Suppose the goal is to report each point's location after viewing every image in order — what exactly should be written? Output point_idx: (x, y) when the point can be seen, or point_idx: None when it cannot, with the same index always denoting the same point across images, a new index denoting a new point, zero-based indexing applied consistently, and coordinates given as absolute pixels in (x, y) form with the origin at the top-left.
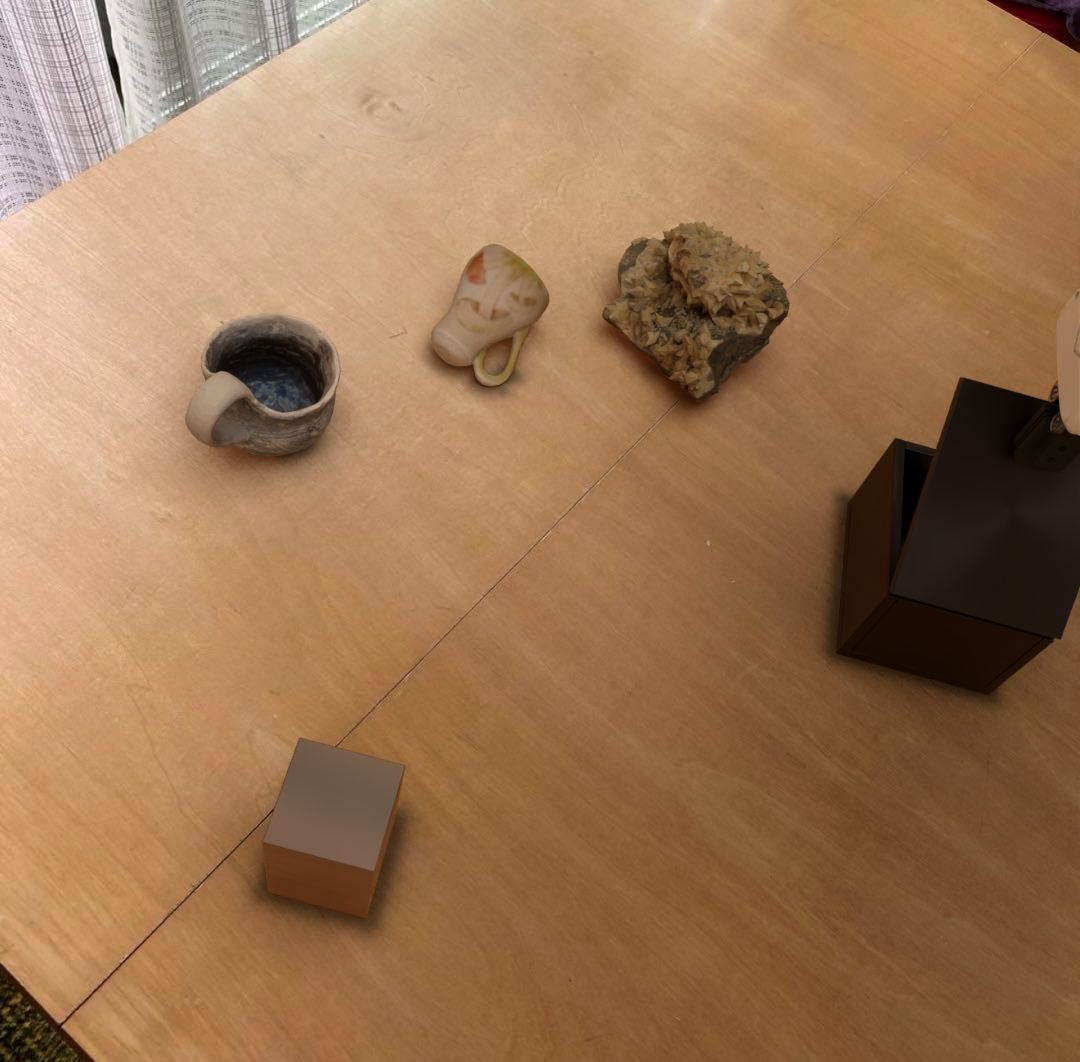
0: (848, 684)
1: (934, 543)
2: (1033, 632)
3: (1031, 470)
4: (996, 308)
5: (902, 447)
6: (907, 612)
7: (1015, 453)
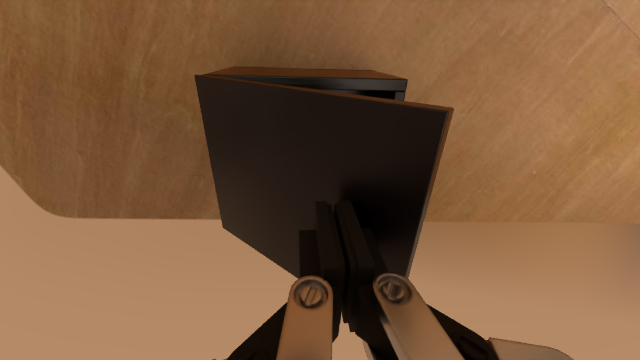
0: None
1: (237, 111)
2: None
3: None
4: (554, 178)
5: (396, 88)
6: None
7: (320, 203)
